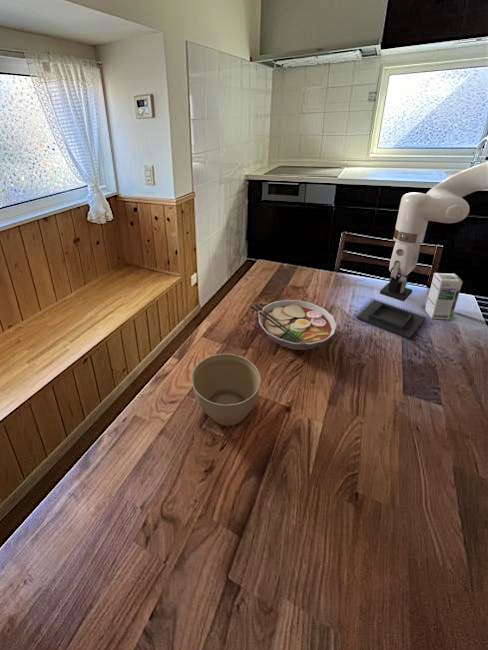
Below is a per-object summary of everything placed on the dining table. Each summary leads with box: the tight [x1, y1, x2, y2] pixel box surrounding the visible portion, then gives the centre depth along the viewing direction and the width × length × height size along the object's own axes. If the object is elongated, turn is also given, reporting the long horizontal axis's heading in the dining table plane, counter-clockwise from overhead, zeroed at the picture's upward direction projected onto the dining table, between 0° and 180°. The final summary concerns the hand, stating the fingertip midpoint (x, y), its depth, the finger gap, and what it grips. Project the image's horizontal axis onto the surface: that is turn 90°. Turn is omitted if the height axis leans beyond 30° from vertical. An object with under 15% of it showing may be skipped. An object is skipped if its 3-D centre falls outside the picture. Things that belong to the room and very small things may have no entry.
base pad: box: [356, 299, 426, 341], centre depth 111 cm, size 16×14×2 cm
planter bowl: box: [190, 353, 262, 427], centre depth 81 cm, size 16×16×11 cm
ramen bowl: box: [250, 299, 337, 351], centre depth 104 cm, size 25×23×8 cm
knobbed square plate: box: [379, 275, 413, 303], centre depth 106 cm, size 7×7×6 cm
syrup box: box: [424, 272, 463, 321], centre depth 109 cm, size 6×6×14 cm
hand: (396, 288), depth 106 cm, fingers closed on knobbed square plate, 4 cm apart
